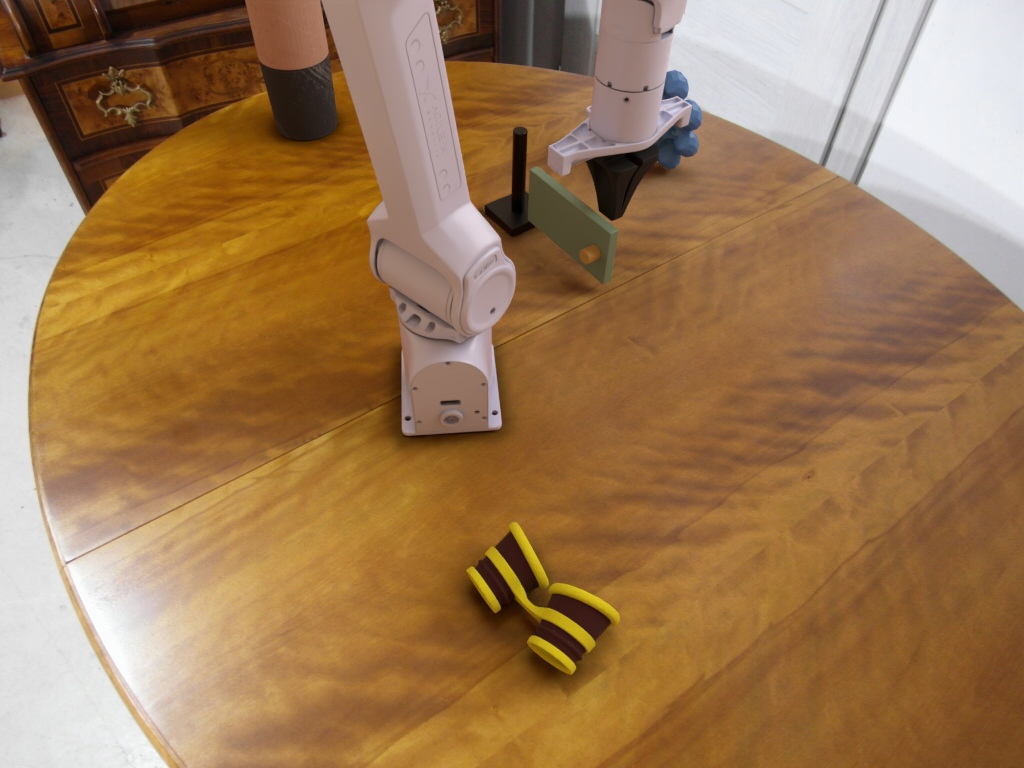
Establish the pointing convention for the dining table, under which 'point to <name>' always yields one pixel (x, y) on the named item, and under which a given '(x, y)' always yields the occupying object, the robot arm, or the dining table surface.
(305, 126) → the travel mug
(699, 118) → the grapes
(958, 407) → the dining table surface
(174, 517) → the dining table surface
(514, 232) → the hinge post
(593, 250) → the gate door
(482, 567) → the opera glasses
